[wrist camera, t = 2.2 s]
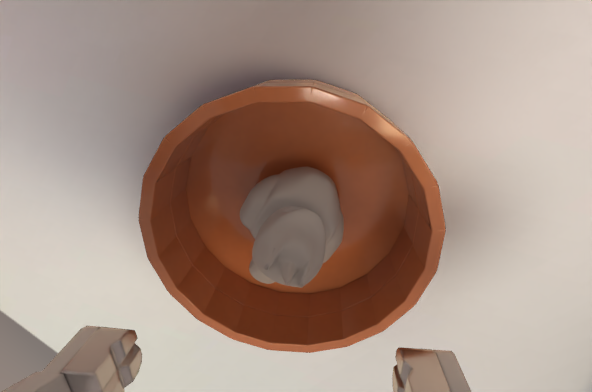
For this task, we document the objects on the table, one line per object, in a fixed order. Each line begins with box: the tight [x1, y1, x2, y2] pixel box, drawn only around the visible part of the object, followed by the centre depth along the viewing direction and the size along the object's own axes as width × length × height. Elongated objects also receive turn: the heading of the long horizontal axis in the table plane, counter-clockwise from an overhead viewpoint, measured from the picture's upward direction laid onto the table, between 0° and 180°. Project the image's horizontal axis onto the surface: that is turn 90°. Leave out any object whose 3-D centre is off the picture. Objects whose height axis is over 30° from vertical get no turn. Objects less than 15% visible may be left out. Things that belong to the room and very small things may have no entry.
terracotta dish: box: [139, 79, 446, 353], centre depth 17 cm, size 14×14×4 cm
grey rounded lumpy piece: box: [240, 167, 344, 288], centre depth 15 cm, size 5×7×8 cm
